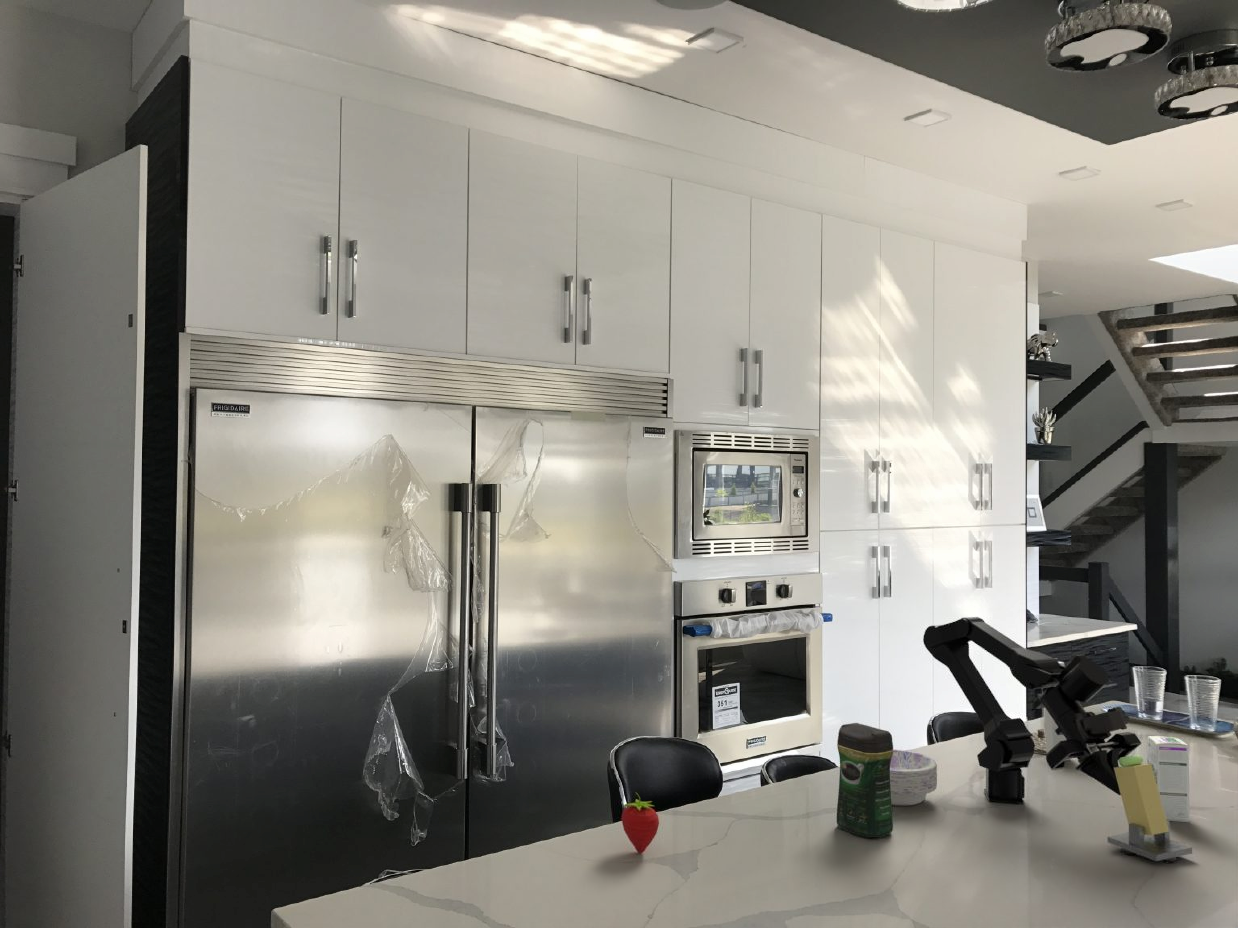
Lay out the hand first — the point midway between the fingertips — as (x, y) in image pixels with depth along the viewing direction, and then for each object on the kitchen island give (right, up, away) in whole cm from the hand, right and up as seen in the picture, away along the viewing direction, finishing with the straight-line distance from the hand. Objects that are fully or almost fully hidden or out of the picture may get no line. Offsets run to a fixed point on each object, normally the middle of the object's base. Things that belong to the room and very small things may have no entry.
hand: (1122, 793), depth 167 cm
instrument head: (+2, -5, -5) cm, 7 cm away
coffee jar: (-44, -8, +4) cm, 45 cm away
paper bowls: (-33, -9, +22) cm, 41 cm away
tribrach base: (+2, -9, -5) cm, 10 cm away
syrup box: (+16, -10, +15) cm, 24 cm away
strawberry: (-85, -7, -9) cm, 85 cm away
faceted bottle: (+14, -11, +54) cm, 57 cm away
